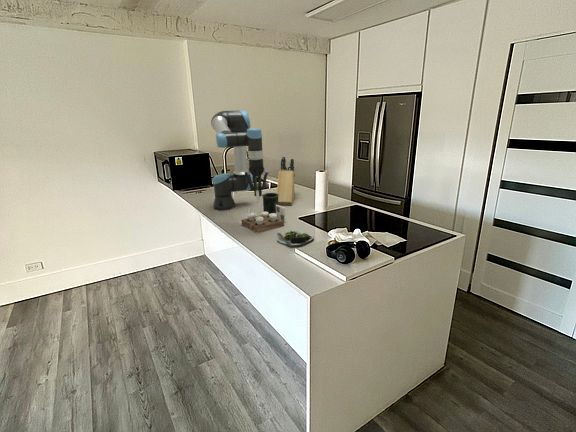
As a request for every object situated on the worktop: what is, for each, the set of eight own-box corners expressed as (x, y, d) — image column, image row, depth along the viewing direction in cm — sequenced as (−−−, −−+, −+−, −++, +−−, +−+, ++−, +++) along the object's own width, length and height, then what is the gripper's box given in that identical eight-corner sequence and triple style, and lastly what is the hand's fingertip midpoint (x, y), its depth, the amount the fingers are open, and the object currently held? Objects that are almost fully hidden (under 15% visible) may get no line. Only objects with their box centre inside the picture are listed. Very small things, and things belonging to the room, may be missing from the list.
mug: (264, 215, 200) (263, 197, 196) (261, 209, 214) (260, 192, 210) (281, 214, 202) (280, 196, 198) (276, 208, 216) (276, 191, 212)
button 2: (254, 225, 177) (254, 217, 176) (261, 223, 180) (260, 215, 178) (258, 227, 174) (258, 219, 172) (265, 225, 176) (264, 217, 175)
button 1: (246, 221, 184) (246, 213, 183) (253, 219, 187) (252, 212, 185) (250, 223, 181) (249, 215, 179) (257, 221, 183) (256, 214, 182)
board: (241, 224, 185) (241, 219, 184) (267, 218, 195) (267, 213, 194) (257, 233, 171) (257, 227, 170) (284, 225, 181) (283, 220, 180)
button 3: (260, 220, 189) (259, 212, 188) (266, 218, 192) (265, 211, 190) (263, 221, 186) (263, 214, 185) (270, 220, 188) (269, 212, 187)
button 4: (267, 222, 182) (267, 214, 181) (274, 220, 185) (273, 212, 183) (272, 224, 179) (271, 216, 177) (278, 222, 181) (278, 214, 180)
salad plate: (266, 241, 161) (266, 232, 160) (290, 231, 174) (290, 223, 172) (294, 251, 149) (294, 242, 147) (318, 239, 161) (318, 231, 159)
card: (276, 218, 194) (275, 204, 191) (280, 217, 196) (280, 203, 193) (284, 222, 187) (284, 208, 184) (289, 221, 189) (288, 206, 186)
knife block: (296, 193, 252) (295, 155, 242) (291, 206, 219) (290, 161, 209) (282, 193, 253) (280, 155, 244) (275, 206, 220) (274, 162, 210)
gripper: (241, 159, 163) (245, 203, 170) (266, 159, 161) (268, 203, 168) (245, 157, 170) (249, 200, 177) (269, 157, 168) (271, 200, 175)
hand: (258, 201), depth 172 cm, fingers closed
